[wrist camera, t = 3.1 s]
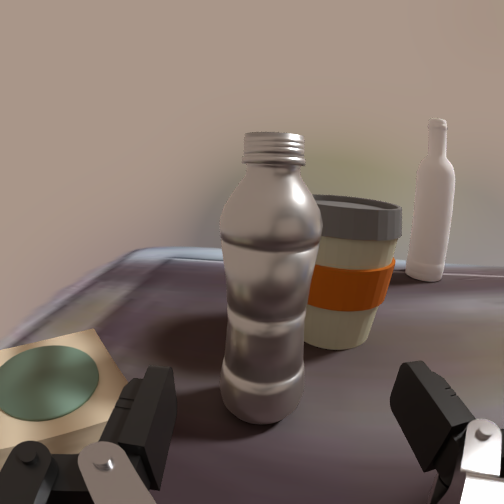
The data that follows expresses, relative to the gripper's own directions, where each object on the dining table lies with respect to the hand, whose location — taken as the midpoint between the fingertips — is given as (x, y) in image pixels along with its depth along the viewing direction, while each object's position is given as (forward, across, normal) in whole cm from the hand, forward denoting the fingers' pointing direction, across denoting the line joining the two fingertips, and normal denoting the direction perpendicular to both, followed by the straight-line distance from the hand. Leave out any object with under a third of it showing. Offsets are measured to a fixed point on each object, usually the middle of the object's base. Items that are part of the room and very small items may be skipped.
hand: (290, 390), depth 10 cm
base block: (+7, +16, +11) cm, 21 cm away
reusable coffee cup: (+24, -9, +11) cm, 28 cm away
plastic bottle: (+11, 0, +11) cm, 16 cm away
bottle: (+43, -33, +11) cm, 55 cm away
